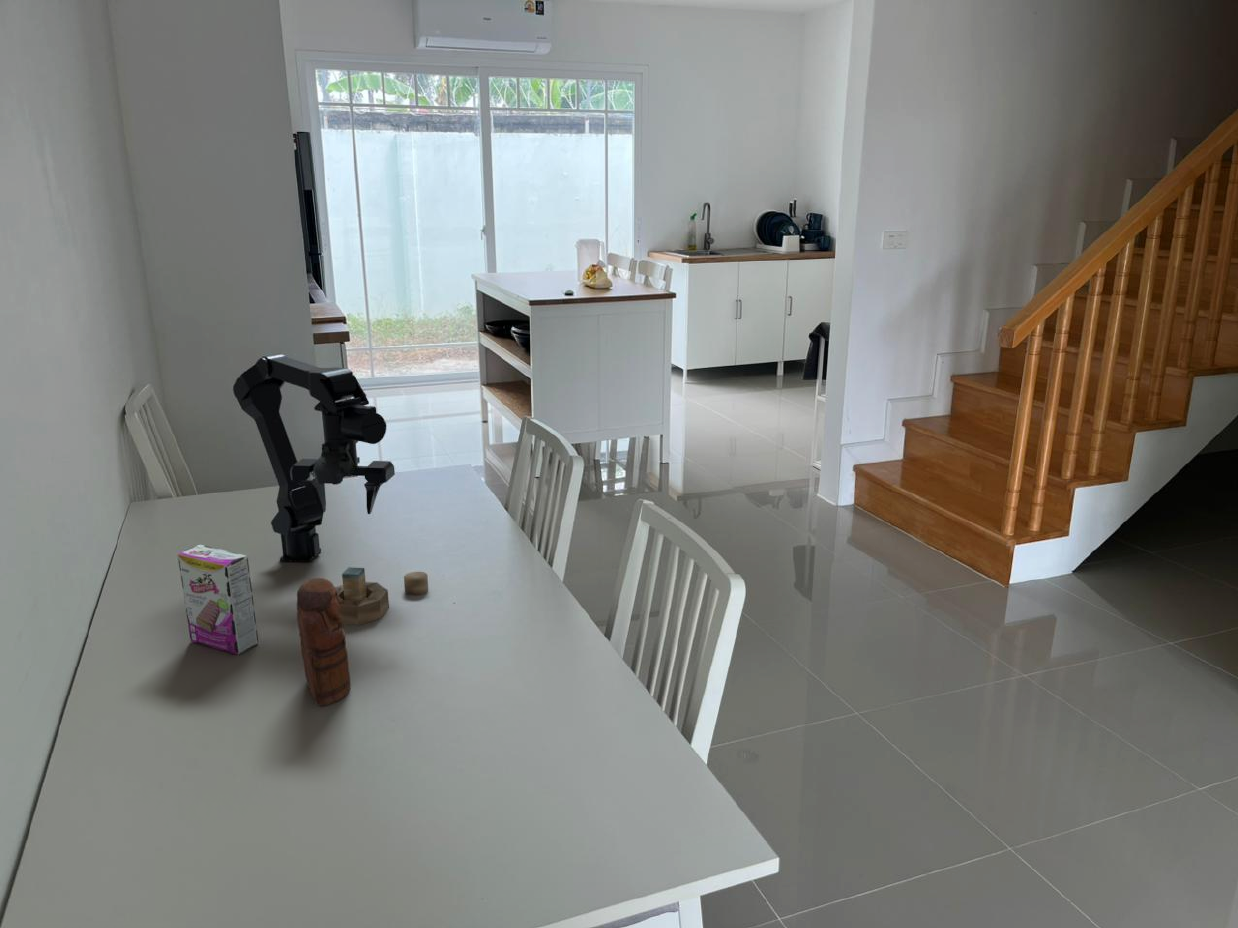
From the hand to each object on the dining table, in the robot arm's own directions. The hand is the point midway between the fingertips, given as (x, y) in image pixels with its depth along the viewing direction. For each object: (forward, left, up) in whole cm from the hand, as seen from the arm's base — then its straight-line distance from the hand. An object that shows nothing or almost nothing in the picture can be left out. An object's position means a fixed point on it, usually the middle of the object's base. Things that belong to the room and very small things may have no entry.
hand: (346, 512), depth 183 cm
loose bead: (+15, -6, -13) cm, 21 cm away
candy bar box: (-11, -30, -13) cm, 35 cm away
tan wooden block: (+7, -16, -13) cm, 22 cm away
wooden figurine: (+12, -42, -13) cm, 46 cm away
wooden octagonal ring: (+7, -16, -13) cm, 22 cm away
